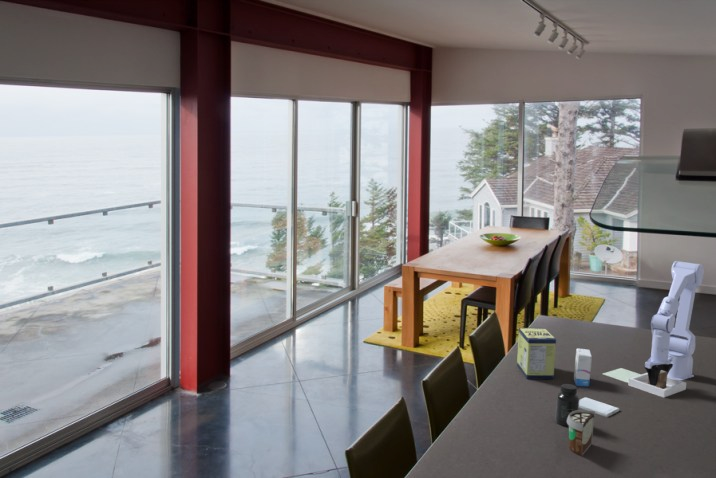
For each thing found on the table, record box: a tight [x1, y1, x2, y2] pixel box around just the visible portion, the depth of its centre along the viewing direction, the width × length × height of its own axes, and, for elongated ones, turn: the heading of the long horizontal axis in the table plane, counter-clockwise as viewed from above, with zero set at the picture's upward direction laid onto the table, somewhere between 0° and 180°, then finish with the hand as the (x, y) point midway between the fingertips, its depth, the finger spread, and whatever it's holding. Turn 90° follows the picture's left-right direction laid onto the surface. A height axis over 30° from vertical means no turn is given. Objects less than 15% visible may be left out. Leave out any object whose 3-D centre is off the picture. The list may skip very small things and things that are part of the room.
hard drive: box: [579, 396, 620, 418], centre depth 238 cm, size 2×8×12 cm
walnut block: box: [648, 370, 668, 389], centre depth 256 cm, size 4×4×6 cm
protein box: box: [516, 327, 557, 380], centre depth 271 cm, size 10×16×16 cm
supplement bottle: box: [555, 383, 580, 427], centre depth 225 cm, size 7×7×12 cm
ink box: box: [573, 347, 593, 388], centre depth 261 cm, size 8×5×12 cm, turn 168°
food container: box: [567, 409, 596, 456], centre depth 208 cm, size 12×6×10 cm, turn 145°
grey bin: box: [627, 372, 687, 398], centre depth 257 cm, size 14×14×3 cm
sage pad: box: [602, 367, 642, 384], centre depth 269 cm, size 12×11×1 cm
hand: (657, 383), depth 256 cm, fingers open, 5 cm apart
